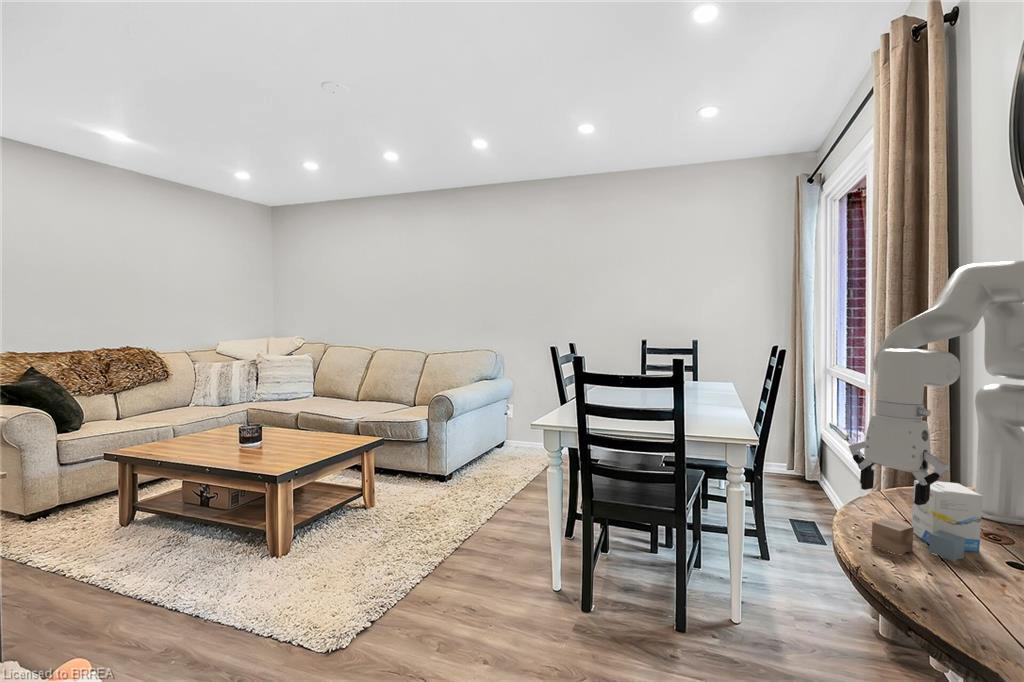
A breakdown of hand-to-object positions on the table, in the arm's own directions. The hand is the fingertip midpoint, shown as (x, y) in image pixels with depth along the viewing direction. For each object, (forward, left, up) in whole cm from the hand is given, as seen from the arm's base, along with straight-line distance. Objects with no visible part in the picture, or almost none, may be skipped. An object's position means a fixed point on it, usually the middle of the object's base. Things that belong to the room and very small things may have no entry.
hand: (892, 496), depth 104 cm
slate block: (-7, +6, -11) cm, 14 cm away
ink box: (-15, +3, -11) cm, 19 cm away
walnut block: (-1, 0, -11) cm, 11 cm away
